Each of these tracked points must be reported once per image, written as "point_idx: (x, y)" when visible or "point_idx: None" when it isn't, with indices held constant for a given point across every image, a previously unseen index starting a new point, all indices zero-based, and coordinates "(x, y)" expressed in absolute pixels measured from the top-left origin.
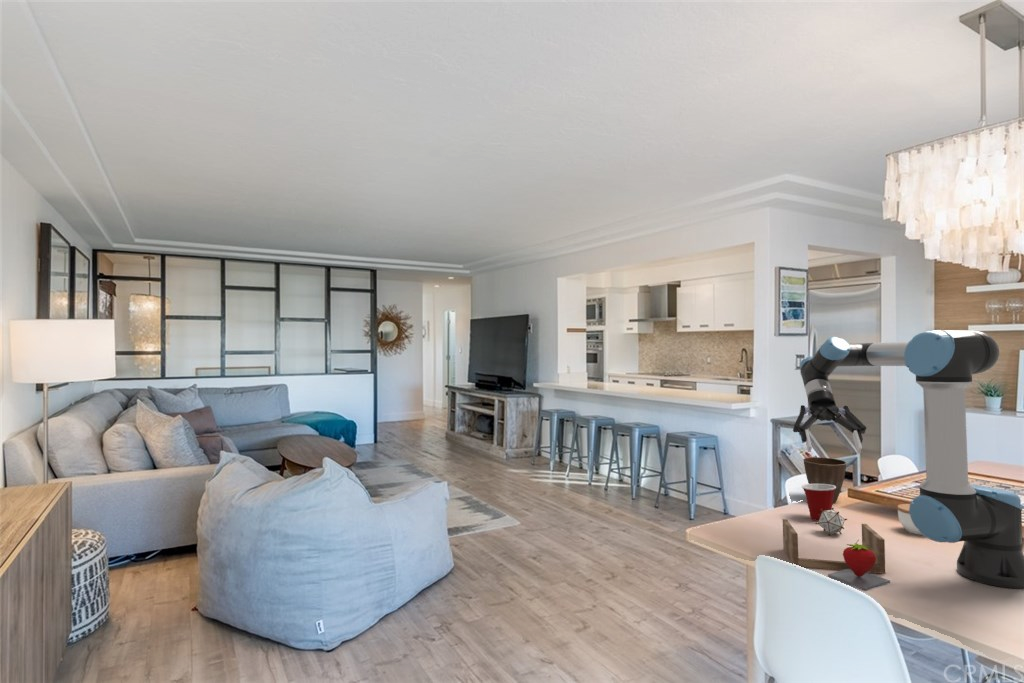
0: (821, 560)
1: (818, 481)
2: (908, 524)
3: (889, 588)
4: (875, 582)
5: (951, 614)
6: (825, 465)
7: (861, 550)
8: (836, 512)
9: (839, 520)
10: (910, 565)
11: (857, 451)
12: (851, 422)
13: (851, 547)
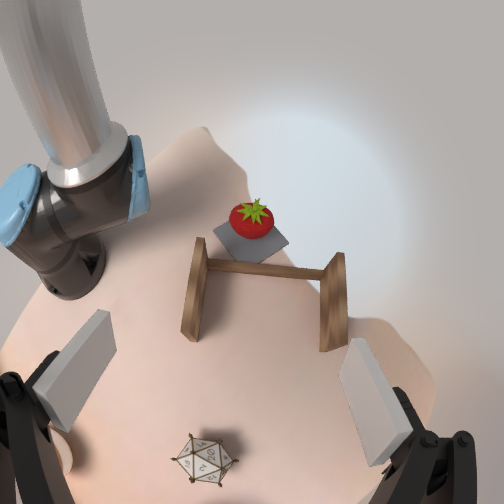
0: (290, 269)
1: None
2: (66, 444)
3: (223, 215)
4: None
5: (196, 166)
6: None
7: (252, 205)
8: (193, 459)
9: (193, 444)
10: (146, 298)
11: (112, 351)
12: (10, 495)
13: (262, 216)
